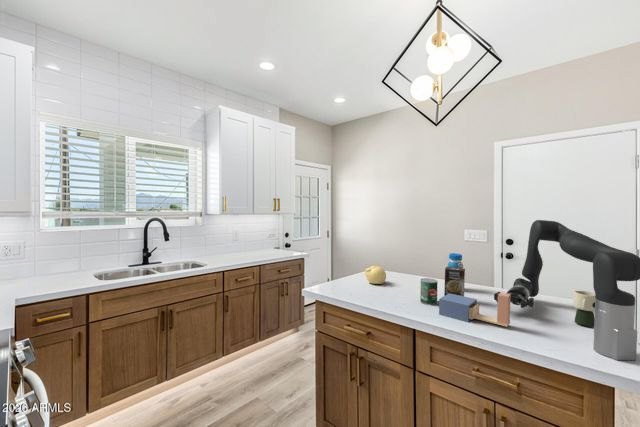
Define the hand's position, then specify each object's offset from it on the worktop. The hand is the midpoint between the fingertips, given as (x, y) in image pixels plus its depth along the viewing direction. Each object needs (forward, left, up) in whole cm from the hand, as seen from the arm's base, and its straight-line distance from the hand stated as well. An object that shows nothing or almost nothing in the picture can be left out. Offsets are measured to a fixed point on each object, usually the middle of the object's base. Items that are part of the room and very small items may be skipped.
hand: (509, 303), depth 125 cm
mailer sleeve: (+5, +20, -7) cm, 21 cm away
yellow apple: (+55, +48, -7) cm, 73 cm away
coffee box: (+25, +13, -7) cm, 29 cm away
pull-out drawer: (-1, +14, -6) cm, 15 cm away
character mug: (-4, -27, -7) cm, 28 cm away
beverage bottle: (+44, +5, -7) cm, 44 cm away
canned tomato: (+21, +27, -7) cm, 35 cm away
